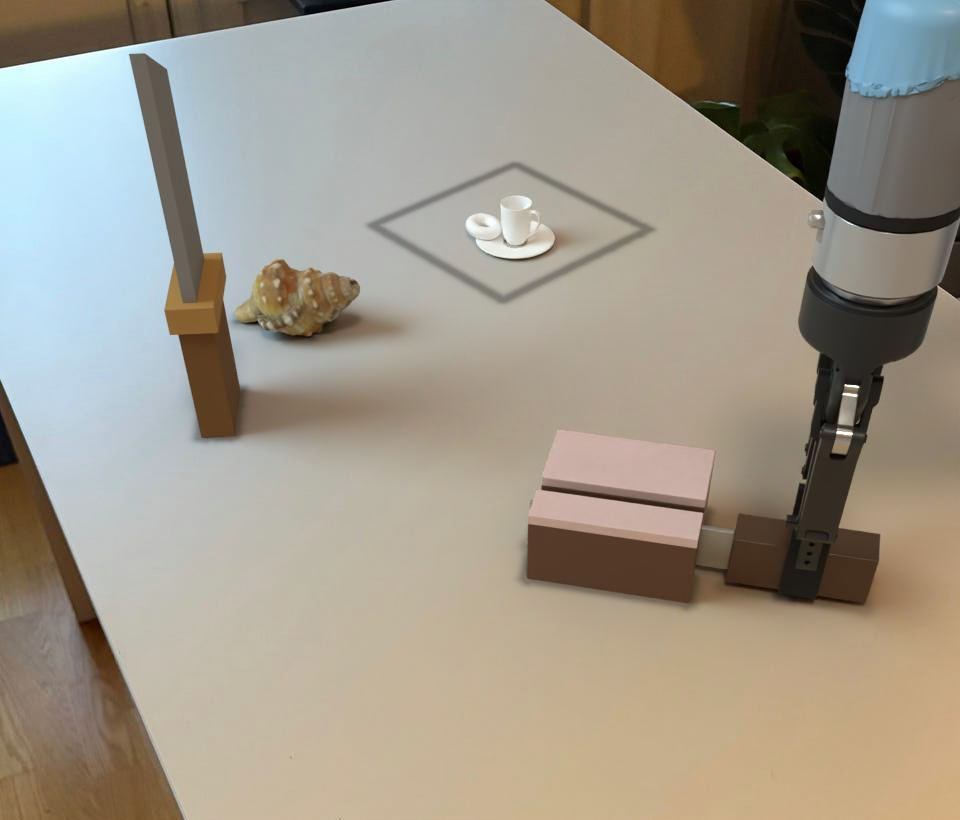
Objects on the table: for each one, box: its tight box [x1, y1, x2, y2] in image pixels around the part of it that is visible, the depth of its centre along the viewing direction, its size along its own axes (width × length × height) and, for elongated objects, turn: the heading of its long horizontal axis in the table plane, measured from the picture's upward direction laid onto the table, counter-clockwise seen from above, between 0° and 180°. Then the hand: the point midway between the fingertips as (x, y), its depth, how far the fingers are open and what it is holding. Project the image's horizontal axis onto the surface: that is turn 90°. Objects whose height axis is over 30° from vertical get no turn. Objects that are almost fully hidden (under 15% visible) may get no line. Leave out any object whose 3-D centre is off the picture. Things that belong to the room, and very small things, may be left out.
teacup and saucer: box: [465, 195, 556, 260], centre depth 121 cm, size 9×8×4 cm
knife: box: [128, 52, 241, 439], centre depth 93 cm, size 8×4×30 cm, turn 3°
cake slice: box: [526, 489, 703, 604], centre depth 88 cm, size 12×3×6 cm, turn 76°
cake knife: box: [529, 499, 881, 604], centre depth 89 cm, size 25×3×4 cm, turn 76°
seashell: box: [234, 258, 361, 337], centre depth 111 cm, size 9×8×10 cm
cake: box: [540, 429, 717, 525], centre depth 92 cm, size 12×6×6 cm, turn 76°
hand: (799, 575), depth 89 cm, fingers closed on cake knife, 3 cm apart
